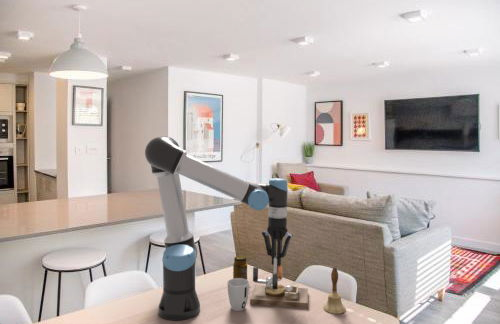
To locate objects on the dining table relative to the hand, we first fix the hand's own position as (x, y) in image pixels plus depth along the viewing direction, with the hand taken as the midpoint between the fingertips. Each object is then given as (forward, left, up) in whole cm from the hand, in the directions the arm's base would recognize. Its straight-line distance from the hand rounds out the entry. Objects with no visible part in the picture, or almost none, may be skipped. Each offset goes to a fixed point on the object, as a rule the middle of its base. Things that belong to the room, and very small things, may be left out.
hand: (276, 272), depth 161 cm
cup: (-13, -16, -9) cm, 23 cm away
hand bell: (+23, -11, -9) cm, 27 cm away
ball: (+6, -5, -6) cm, 10 cm away
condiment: (-16, +6, -9) cm, 19 cm away
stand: (+2, -5, -9) cm, 10 cm away
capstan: (-2, -6, -6) cm, 9 cm away
